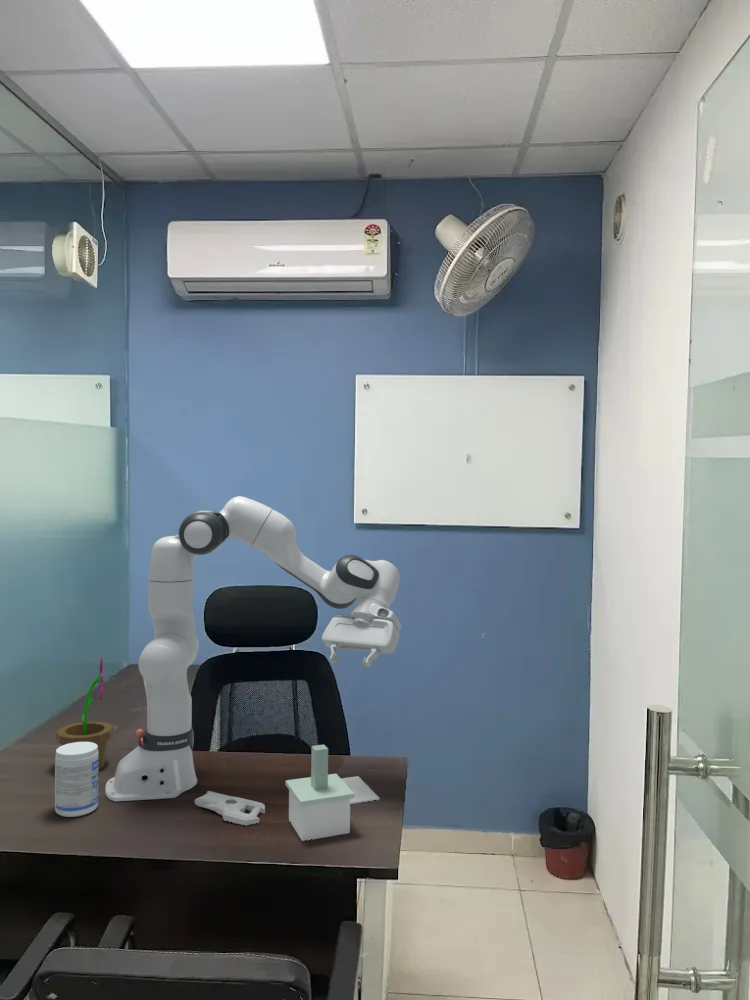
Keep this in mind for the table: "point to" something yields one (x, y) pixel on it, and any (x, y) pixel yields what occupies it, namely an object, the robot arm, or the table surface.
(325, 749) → the lid
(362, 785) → the mat
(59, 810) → the supplement tub
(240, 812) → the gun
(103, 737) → the flowerpot
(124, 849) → the table surface
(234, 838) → the table surface
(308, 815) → the tub
